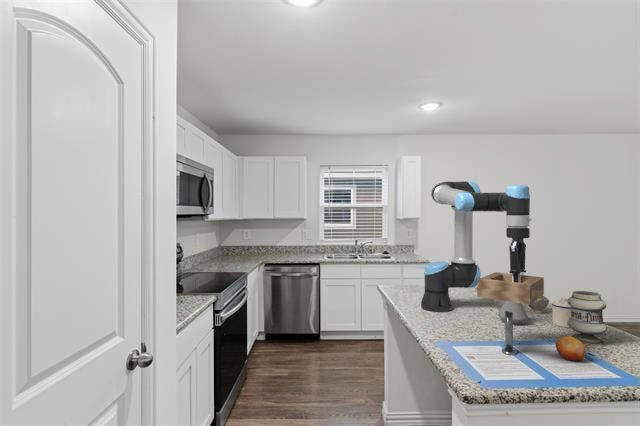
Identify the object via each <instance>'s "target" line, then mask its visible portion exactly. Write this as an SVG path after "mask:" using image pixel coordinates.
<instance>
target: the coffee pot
mask: <svg viewBox="0 0 640 426" xmlns="http://www.w3.org/2000/svg"><path fill="white" fill-rule="evenodd" d="M475 292H477V288H475ZM505 311H511V312H513V326H516V325H517V326H518V325H523V324H524V323H525V322H526V323H527V321H528V318H529V317H528V314H527V313H526V310H525V309H524V306H523V304H521V303H515V302H509V301H504V303H503V305H502V307H501V309H499V312H498V314H497V315H498V317H499V319H500V320H502V321H503V323H505Z"/></svg>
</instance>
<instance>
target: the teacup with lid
mask: <svg viewBox="0 0 640 426" xmlns="http://www.w3.org/2000/svg"><path fill="white" fill-rule="evenodd" d="M567 300H568V297H561V299H559V300H555V301H553V302H551V305H552V307H551V309H552V310H551V311H552V312H551V313H552V320H551V321H552V324H553V325H554V326H557V327H561V328H567V329H571V328H570V327H569V326H568V320H569V319H570V318H571V306H570V305H569V304H568V302H567Z"/></svg>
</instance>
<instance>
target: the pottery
mask: <svg viewBox="0 0 640 426" xmlns="http://www.w3.org/2000/svg"><path fill="white" fill-rule="evenodd" d="M492 301H493V302H494V304H495V305H496V306H497V309H498V310H500V309H501V307H502V305H503V303H504V301H502V300H496V299H492ZM549 303H550V300H549V298H547V297H546V296H544V294H543V295H542V296H541V297H539V298H538V299H537V300H535V301H534V302H533V303H531V304H530V305H528V304H527V306H528V307H529V308H530V312H531V313H535V314H544V313H545V311H544V310H546V309H547V307H548V305H549Z"/></svg>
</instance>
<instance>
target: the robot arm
mask: <svg viewBox="0 0 640 426" xmlns="http://www.w3.org/2000/svg"><path fill="white" fill-rule="evenodd" d="M431 198H432V200H433V202H435V203H437V204H439V205H449V206H451V209H452V210H453V212H454V221H453V223H454V232H453V233H454V235H453V237H454V245H453V246H454V248H453V252H454V255H453V256H454V257H453V258H452V259H451V261H450V264H449V262H447V261H431V262H427V263H426V264H425V265H424V273H423V274H424V293H423V295H422V296H423V297H422V299H421V302H420V305H421V306H420V307H421V309H423V310H426V311H430V312H435V313H436V312H437V313H442V312H443V313H444V312H445V313H446V312H451V311H453V303H452V300H451V297H450V294H449V289H450V288H455V289H456V288H458V289H459V288H464V289H469V288H475V287H477V279H479V278H481V269H480V266H479V265H478V264H476V262H477V261H476V260H474V258H473V227H474V224H473V220H474V218H473V214H474V213H473V212H498V213H499V212H501V213H502V212H503V213H504V212H506V214H505V215H506V217H505V218H506V221H505V223H506V224H505V225H506V229H505V230H506V232H505V233H506V238H507V239H511V242H510V245H509V246H508V249H509V268H510V269H509V270H510V271H509V272H508V273H509V274H512V282H516V283H521V275H525V273H527V270H526V248H527V244H526V243H525V241H524V239H530V235H531V233H530V228H529V227H530V221H532V218H531V217H530V210H531V209H530V208H531V207H530V206H531V205H530V202H531V195H530V187H529V186H528V185H523V184H522V185H517V184H516V185H508V186H507V187H506V190H505V192H481V188H480V187H479V185H478V184H477V183H476V182H475V181H443V182H440V183H438V184H436V185H434V187H433V188H432V189H431Z"/></svg>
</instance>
